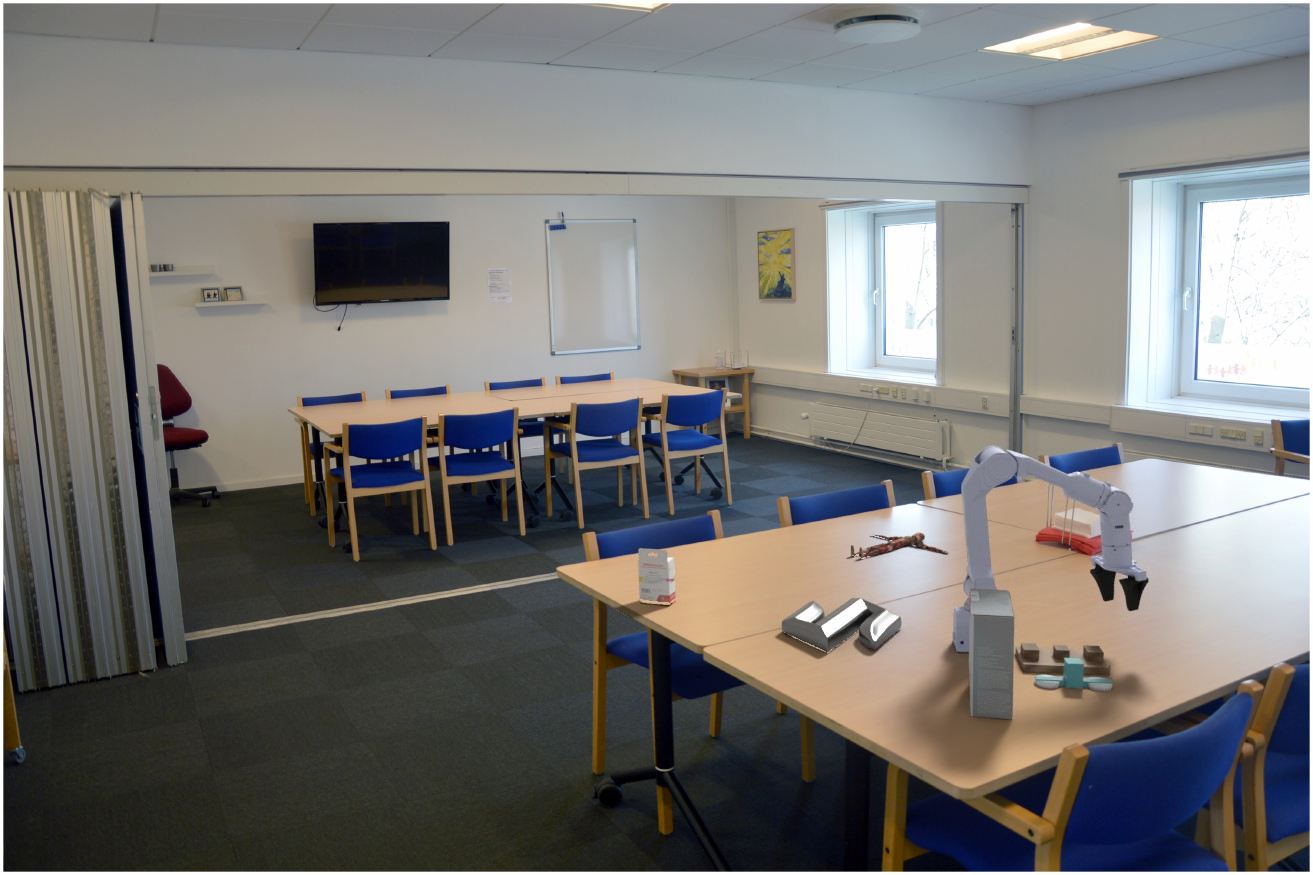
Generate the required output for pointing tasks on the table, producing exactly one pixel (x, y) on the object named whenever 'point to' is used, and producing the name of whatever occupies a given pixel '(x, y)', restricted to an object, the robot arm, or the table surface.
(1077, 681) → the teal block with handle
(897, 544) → the mannequin
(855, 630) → the emblem
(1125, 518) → the robot arm
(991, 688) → the hard drive box
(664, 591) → the ink cartridge box
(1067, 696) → the table surface
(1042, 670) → the display stand
